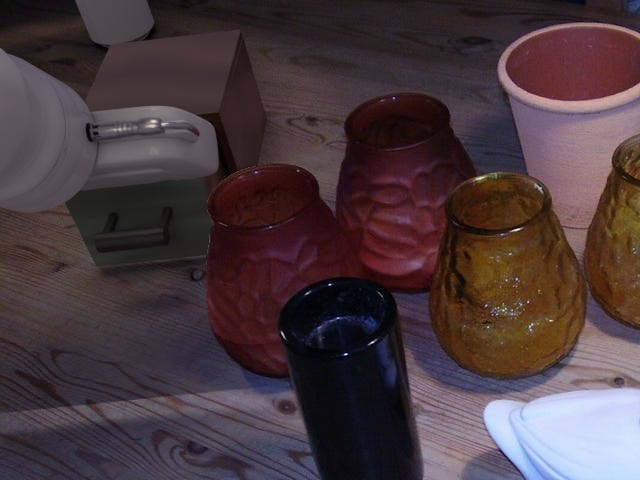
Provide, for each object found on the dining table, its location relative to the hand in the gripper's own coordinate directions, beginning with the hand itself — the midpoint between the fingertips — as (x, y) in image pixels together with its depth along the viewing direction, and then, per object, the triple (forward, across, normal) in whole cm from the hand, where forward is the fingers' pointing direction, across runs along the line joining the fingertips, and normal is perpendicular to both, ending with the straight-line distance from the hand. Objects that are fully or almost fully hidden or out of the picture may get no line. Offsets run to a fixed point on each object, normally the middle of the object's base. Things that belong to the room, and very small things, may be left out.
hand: (109, 176), depth 76 cm
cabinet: (+21, 0, -5) cm, 21 cm away
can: (+41, +13, -25) cm, 50 cm away
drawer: (+12, 0, +2) cm, 13 cm away
